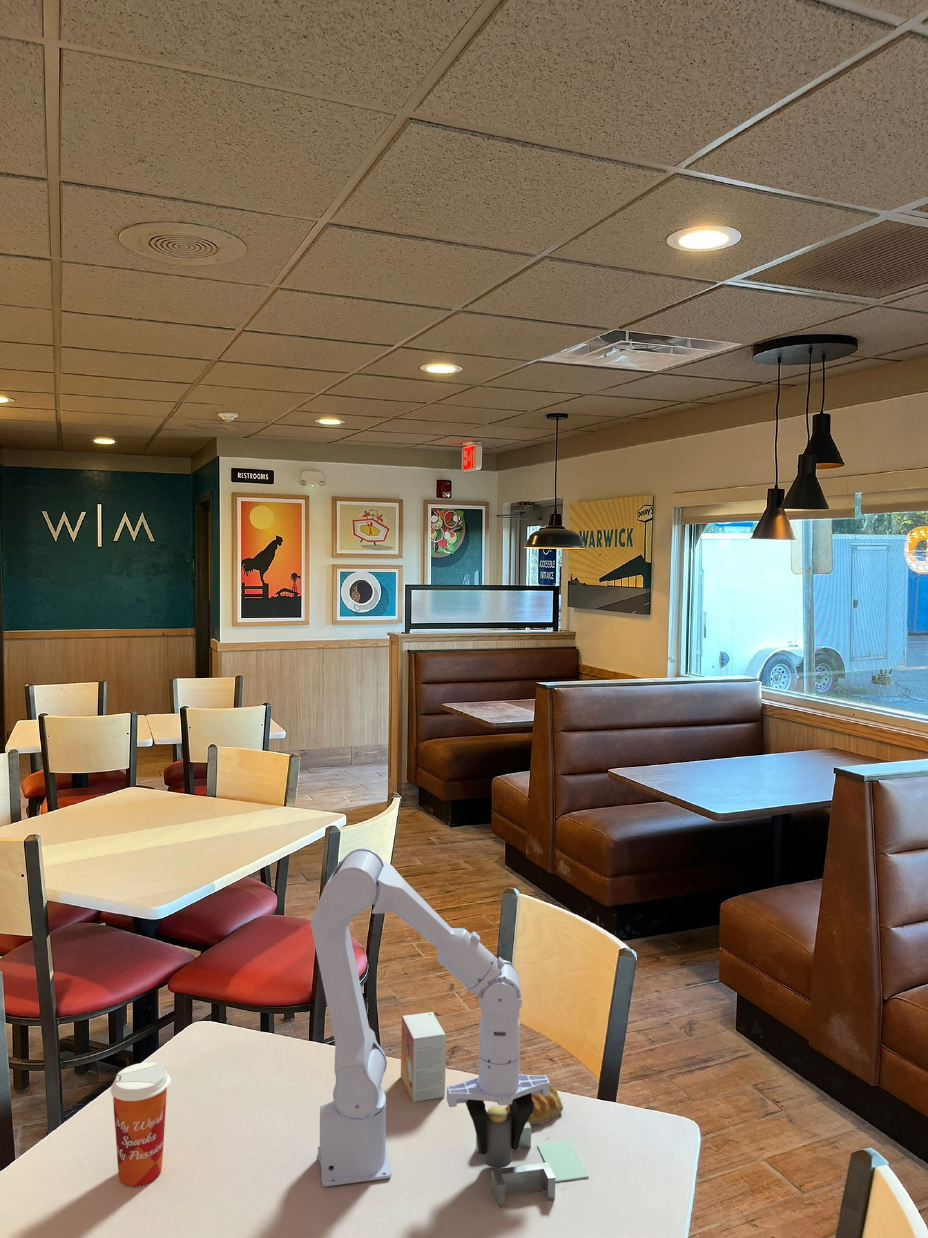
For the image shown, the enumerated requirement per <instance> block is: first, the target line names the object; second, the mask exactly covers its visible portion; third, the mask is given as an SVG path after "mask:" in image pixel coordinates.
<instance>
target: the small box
mask: <svg viewBox="0 0 928 1238" xmlns="http://www.w3.org/2000/svg"><path fill="white" fill-rule="evenodd" d="M400 1039H401V1045H400V1047H401V1048H400V1049H401V1050H400V1077H401V1079H402V1081H403V1084H404V1085H405V1088H406V1090H407V1093H408V1095H409V1098H410V1099H411V1102H412V1103H417V1102H423V1101H429V1100H435V1099H441V1098H445V1096H446V1063H447V1062H446V1060H447V1033H445V1031H444V1029H443V1028H442V1026H441V1024H440V1022H439V1021H438V1019H437V1017H436V1015H435V1013H434V1012H433V1011H430V1012H421V1013H414V1014H407V1015H406V1014H405V1015H402V1016H401V1038H400Z"/></svg>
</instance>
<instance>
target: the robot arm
mask: <svg viewBox="0 0 928 1238" xmlns="http://www.w3.org/2000/svg"><path fill="white" fill-rule="evenodd" d="M372 905H373V908H372V911H371V914H374V915H375V914H377V915H378V914H387V913H389V914H390V913H392V914H395V915H396V916H397V917H399V918H400V919H401V920H402V921H404V922H405V923H406V924H407V925H408V926H410V927H411V928H412V929H413V930H414V931H416V932H417V933H418V934H420V935H421V937H423V938H424V939H425V940H426V941H428V942H429V944H431V945H432V946H433V947H434V948H435V949H436V955H437V956H436V957H437V962H438V963H439V964H440V965H441V966H442V967H443V968H445V970H446V971H448V973H450V974H451V975H452V976H453V977H454V978H455V979H456V980H458V981H459V982H460V984H462V985H463V986H464V987H465V988H466V989H467V990H469V992H470V993H472V994H474V995H475V996H477V997H479V998H478V999H477V1001H478V1006H479V1009H480V1011H481V1016H480V1018H479V1023H478V1025H479V1026H478V1027H479V1029H478V1076H477V1077H474V1078H471V1079H469V1080H466V1081H463V1082H460V1083H458V1084H453V1085H446V1102H447V1104H448V1107H449V1108H455V1107H457V1105H458V1104H465V1105H466V1107H467V1110H468V1113H469V1116H470V1118H471V1120H472V1124H473V1127H474V1130H475V1135H476V1136H477V1143H478V1148H479V1151H480V1154H479V1155H482V1156H483V1154H486V1126H487V1119H488V1114H487V1111H488V1110H487V1109H486V1104H485V1102H492V1103H497V1106H508V1105H509V1107H510V1114H511V1116H512V1142H511V1147H512V1149H513V1150H512V1151H518V1150H519V1149H518V1145H519V1141H520V1138H521V1134H522V1132H523V1129H524V1126H525V1124H526V1122H527V1120H528V1119H529V1117H530V1115H531V1114H532V1113H533V1110H534V1102H533V1100H532V1095H535V1094H542V1096H549V1095H550V1084H551V1083H550V1080H549V1078H548V1077H547V1075H546V1074H544V1075H531V1074H523V1073H522V1074H521V1073H520V1054H521V1053H520V1047H521V1046H520V1044H521V1040H520V1039H521V1022H520V1010H521V1008H522V1004H523V1000H522V993H521V992H522V991H521V978H520V975H519V972H518V970H517V968H516V967H514V965H513V963H512V962H511V961H509V960H505V959H503V958H502V957H501V956H500V957H498V958H497V957H496V956H495V955H494V954H493V953H492V952H491V951H490V950H489V949H488V948H486V946H484V945H483V944H482V943H481V942H480V941H481V936H480V935H479V934H478V933H477V932H476V931H472V932H471V933H470V932H469V931H468V930H467V929H466V928H462V927H460V928H459V927H457V928H456V927H455V928H453V927H451V926H450V924H448V923H447V921H445V920H444V919H443V918H442V917H441V916H440V914H439V913H438V912H436V910H434V909H433V908H432V906H431V905H430V904H428V902H426V901H425V899H424V898H423V897H422V896H421V895H420V894H418V892H417V891H416V890H415V889H414V888H413V887H412V886H411V885H410V884H409V883H408V882H407V881H406V880H405V879H404V878H403V876H402V875H400V873H399V872H398V871H397V869H396V868H395V867H394V866H393V865H392V864H391V863H389V862H387V861H383V859H382V857H381V855H379V854H378V853H377V852H376V851H374V850H372V849H369V848H365V847H363V848H361V847H360V848H359V847H358V848H356V849H353V850H351V851H349V853H347V855H346V856H345V857H344V858H343V859H341V861H340V862H339V863H338V864H337V865H336V867H334V870H333V872H332V873H331V876H330V877H329V879H328V881H327V882H326V884H325V885H324V887H323V890H322V893H321V894H320V898H319V899H318V902H317V905H316V907H315V910H314V912H313V914H312V916H311V918H310V927H311V933H312V938H313V942H314V948H315V952H316V957H317V963H318V966H319V971H320V975H321V981H322V986H323V990H324V994H325V1001H326V1006H327V1010H328V1011H327V1012H328V1015H329V1020H330V1025H331V1030H332V1034H333V1040H334V1047H335V1048H334V1052H335V1053H334V1069H333V1070H334V1075H335V1084H334V1087H333V1090H332V1091H333V1092H332V1101H331V1102H327V1103H325V1104H322V1105H320V1106H319V1107H320V1108H319V1145H318V1146H317V1160H318V1161H317V1162H319V1165H320V1172H321V1173H320V1176H321V1185H322V1186H323V1187H332V1186H339V1185H340V1186H341V1185H347V1184H355V1183H361V1182H371V1181H377V1180H386V1179H390V1178H392V1171H391V1165H390V1160H389V1156H388V1151H387V1146H386V1139H387V1138H386V1134H387V1133H386V1127H387V1125H386V1124H387V1120H386V1119H387V1118H386V1117H387V1097H386V1094H385V1092H384V1090H383V1088H382V1083H383V1078H384V1075H385V1072H386V1070H387V1065H388V1060H387V1056H386V1053H385V1052H384V1049H383V1048H382V1047H381V1046H380V1044H379V1043H378V1041H377V1038H376V1034H375V1031H374V1030H373V1029H372V1028H371V1027H370V1025H369V1021H368V1014H367V1010H366V1005H365V1000H364V996H363V995H364V994H363V991H362V986H361V980H360V976H359V971H358V966H357V965H358V964H357V961H356V957H355V951H354V947H353V946H354V945H353V943H352V942H353V941H352V936H351V932H350V927H349V925H350V923H351V921H353V919H354V917H356V916H358V915H360V914H361V913H364V911H366V910H367V909H368V908H369V907H371V906H372ZM476 1136H475V1137H476Z"/></svg>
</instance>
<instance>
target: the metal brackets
mask: <svg viewBox="0 0 928 1238" xmlns="http://www.w3.org/2000/svg"><path fill="white" fill-rule="evenodd" d="M531 1147H532V1125H531V1126H530V1124H529V1122H528V1123H526V1124H525V1126H524V1129H523V1132H522V1134H521V1138H520V1141H519V1145H518V1150H520V1149H526V1148H527V1149H528V1148H531ZM475 1150H476V1153H477V1155H481V1154H480V1151H479V1148H478V1143H477V1136H475ZM511 1151H513V1149H512V1147H511ZM539 1191H543V1192H544V1195H545V1198H546V1199H547V1201H550V1200H555V1199H556V1182H555V1176H554V1174H553V1172H552V1169H551V1167H550V1165H549V1163H548V1162H546V1163H545V1162H541V1163H531V1164H525V1165H517V1166H510V1167H509V1166H507V1167H504V1168H493V1169H491V1194H492V1196H493V1199H494V1201H495V1205H496V1207H497V1208H502V1207H505V1205H506V1204H505V1203H506V1196H511V1195H517V1194H524V1193H526V1194H527V1193H531V1192H532V1193H533V1192H539Z"/></svg>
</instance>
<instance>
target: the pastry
mask: <svg viewBox="0 0 928 1238" xmlns="http://www.w3.org/2000/svg"><path fill="white" fill-rule="evenodd" d="M532 1100H533V1102H534V1110H533V1113H532V1114H531V1115H530V1117H529V1119H528V1120H527V1122H526V1123H528V1122H529V1124H530V1126H531V1127H532V1126H539V1125H542V1124H543V1123H545V1122H547V1121H549V1120H552V1119H554V1118H556V1117H557V1116H559V1115H560V1114H561V1112H562V1111H564V1105H563V1103H562V1099H561V1097H560V1096H559V1094H558V1090H557V1089H556V1087H554V1085H552V1084H551V1083H550V1095H549V1096H542V1094H535V1095H532ZM505 1108H506V1109H507V1111H508V1112H509V1113H510V1107H509V1105H506V1107H505Z"/></svg>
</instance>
